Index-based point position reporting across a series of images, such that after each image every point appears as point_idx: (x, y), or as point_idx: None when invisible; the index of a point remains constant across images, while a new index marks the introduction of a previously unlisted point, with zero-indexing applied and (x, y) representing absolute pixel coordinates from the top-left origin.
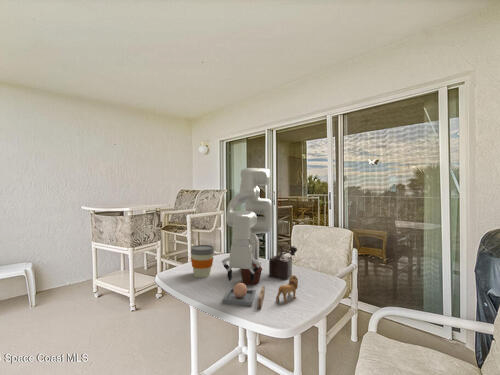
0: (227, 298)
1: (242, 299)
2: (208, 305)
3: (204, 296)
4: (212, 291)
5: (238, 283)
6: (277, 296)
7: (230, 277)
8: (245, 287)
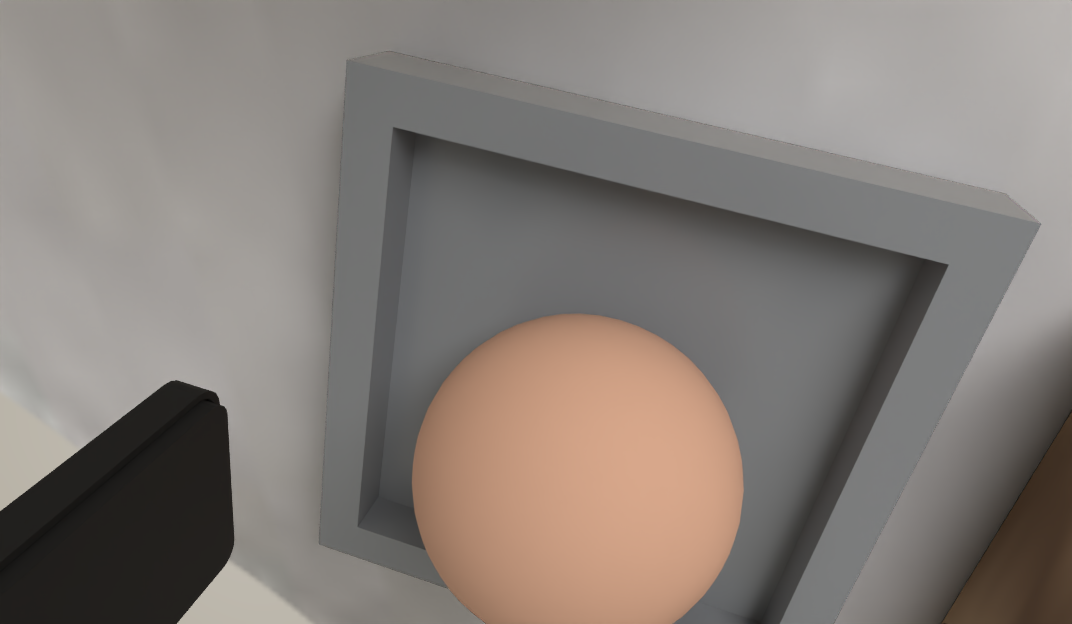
0: (380, 537)
1: None
2: None
3: (31, 257)
4: (64, 51)
5: (485, 578)
6: None
7: (174, 609)
8: (689, 605)
